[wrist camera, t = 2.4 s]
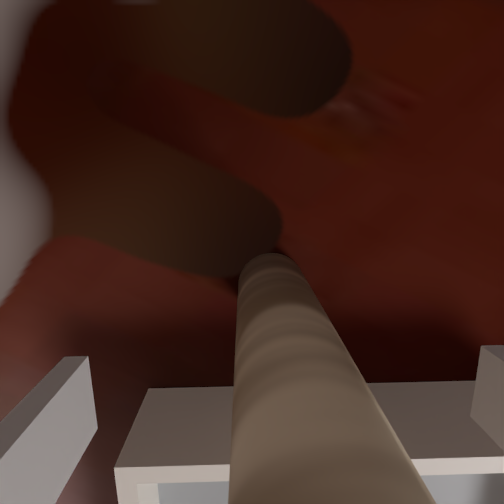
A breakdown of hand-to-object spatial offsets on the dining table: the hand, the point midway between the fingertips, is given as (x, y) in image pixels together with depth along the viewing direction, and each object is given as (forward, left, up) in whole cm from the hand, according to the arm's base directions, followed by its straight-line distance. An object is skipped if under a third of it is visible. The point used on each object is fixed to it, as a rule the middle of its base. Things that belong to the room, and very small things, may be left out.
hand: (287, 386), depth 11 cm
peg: (0, 0, -9) cm, 9 cm away
